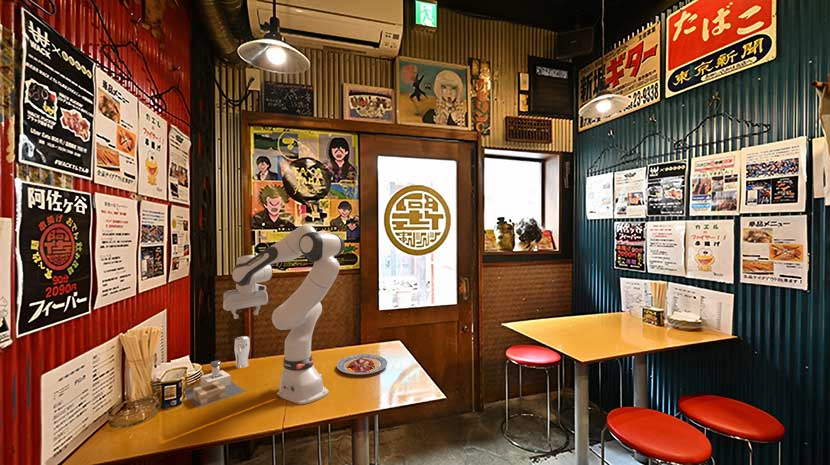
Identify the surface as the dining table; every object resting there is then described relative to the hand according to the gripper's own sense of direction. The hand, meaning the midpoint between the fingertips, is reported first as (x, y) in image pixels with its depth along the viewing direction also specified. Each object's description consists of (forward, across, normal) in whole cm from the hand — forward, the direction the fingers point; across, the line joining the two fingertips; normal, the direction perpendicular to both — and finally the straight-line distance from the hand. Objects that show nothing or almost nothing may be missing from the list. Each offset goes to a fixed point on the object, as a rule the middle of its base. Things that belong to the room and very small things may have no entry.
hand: (246, 316), depth 163 cm
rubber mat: (+28, -18, -8) cm, 34 cm away
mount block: (+27, -21, -14) cm, 37 cm away
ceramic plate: (+29, +42, -36) cm, 63 cm away
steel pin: (+27, -15, -3) cm, 31 cm away
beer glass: (+28, +3, +10) cm, 30 cm away
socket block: (+27, -15, -3) cm, 31 cm away
